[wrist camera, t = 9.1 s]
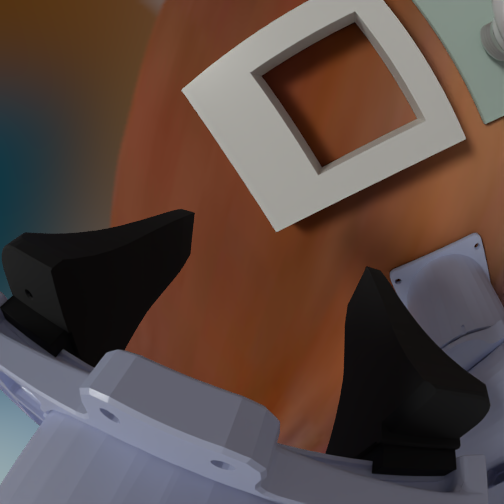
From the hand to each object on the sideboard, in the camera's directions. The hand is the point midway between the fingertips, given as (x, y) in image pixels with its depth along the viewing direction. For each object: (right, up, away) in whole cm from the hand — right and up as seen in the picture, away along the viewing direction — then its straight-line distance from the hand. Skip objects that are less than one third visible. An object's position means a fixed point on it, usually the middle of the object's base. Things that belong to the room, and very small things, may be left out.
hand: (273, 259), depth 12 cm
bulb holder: (+4, +10, +6) cm, 12 cm away
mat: (+15, +15, -1) cm, 21 cm away
